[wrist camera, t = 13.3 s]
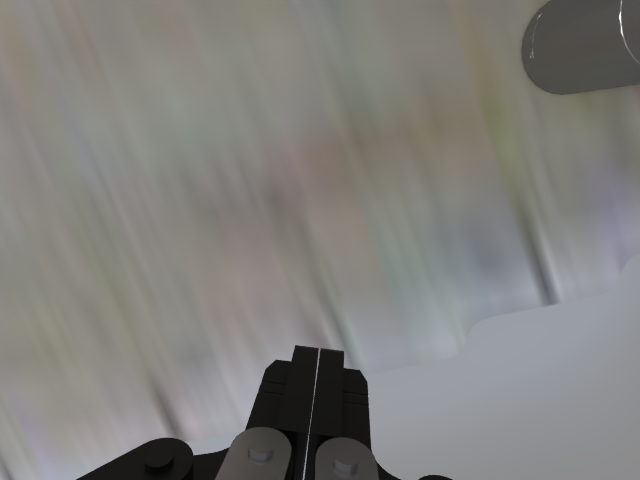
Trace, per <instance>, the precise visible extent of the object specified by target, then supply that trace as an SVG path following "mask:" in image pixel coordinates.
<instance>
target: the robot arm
mask: <svg viewBox="0 0 640 480" xmlns="http://www.w3.org/2000/svg"><path fill="white" fill-rule="evenodd" d="M522 60H523V64H524V67H525V70H526V72H527V74H528V76H529V78H530V79H531V80H532V81H533V82H534V83H535V85H537V86H538V87H540V88H541V89H542V90H544V91H547V92H549V93H552V94H560V95H564V94H573V93H580V92H587V91H595V90H601V89H608V88H615V87H621V86H628V85H635V84H640V0H551V1H549V2H548V3H546V4H545V5H544V6H543V7H542V8H541V9H539V11H538V12H537V13H536V14H535V16H534V17H533V18H532V20H531V21H530V23H529V25H528V27H527V29H526V32H525V35H524V38H523V44H522ZM318 350H319V348H314V347H306V346H298V345H295V349H294V353H293V357H292V361H291V362H290V361H282V360H275V361H274V362H273V363H272V364H271V365H270V366H269V367H267V368H266V370H265V373H264V376H263V379H262V383H261V385H260V388H259V391H258V394H257V397H256V399H255V402H254V405H253V408H252V411H251V414H250V417H249V420H248V423H247V426H246V429H245V431H244V432H242V433H240V434H239V435H238V436H237V437H236V438H235V439H234V441H233V442H232V444H231V446H230V447H229V448H227V449H224V450H222V451H219V452H214V453H208V454H201V455H194V456H193V452H192V450H191V448H190V447H189V445H187V444H186V443H185V442H183V441H182V440H179V439H175V438H160V439H155V440H152V441H149V442H147V443H145V444H143V445H141V446H139V447H137V448H135V449H133V450H131V451H130V452H128V453H126V454H124V455H122V456H120V457H118V458H116V459H114V460H112V461H111V462H109V463H107V464H105V465H103V466H101V467H99V468H97V469H95V470H94V471H92V472H90V473H88V474H86V475H84V476H82V477H80V478H78V479H77V480H302V479H303V471H304V465H305V457H306V450H307V442H308V435H309V443H308V452H307V461H306V471H305V479H304V480H401V479H398V478H396V477H394V476H392V475H391V474H389V473H388V472H386V471H385V470H384V469H383V468H382V467H381V466H380V465H379V464H378V463H377V461H376V460H375V457H374V455H373V454H372V450H371V439H370V421H369V407H368V406H369V404H368V385H367V381H366V379H365V378H364V376H363V374H362V373H361V371H360V370H354V369H346V368H344V351H338V350H330V349H322V348H321V350H320V358H319V365H318V373H317V380H316V388H315V378H316V369H317V360H318ZM314 388H315V395H314ZM313 397H314V403H313ZM312 405H313V410H312ZM311 413H312V418H311ZM310 420H311V426H310ZM309 428H310V434H309ZM419 480H452V479H450V478H447V477H444V476H440V475H428V476H424V477H422V478H420V479H419Z"/></svg>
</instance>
